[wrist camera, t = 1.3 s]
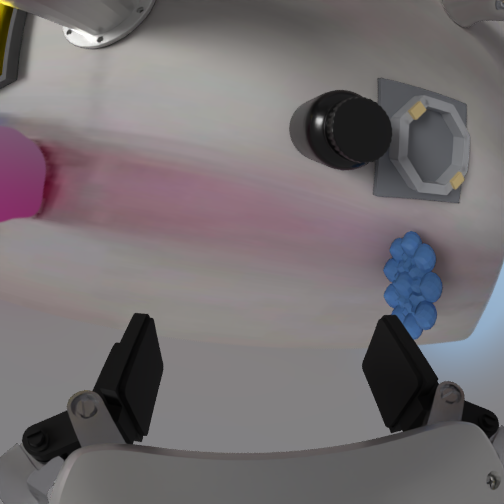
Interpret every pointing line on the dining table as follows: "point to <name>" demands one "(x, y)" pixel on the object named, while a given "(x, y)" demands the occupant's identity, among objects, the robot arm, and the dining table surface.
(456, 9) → the beer glass
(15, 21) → the shallow dark tray
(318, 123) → the supplement bottle
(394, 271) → the blue petal flower
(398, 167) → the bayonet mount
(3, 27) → the element tile
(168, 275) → the dining table surface
